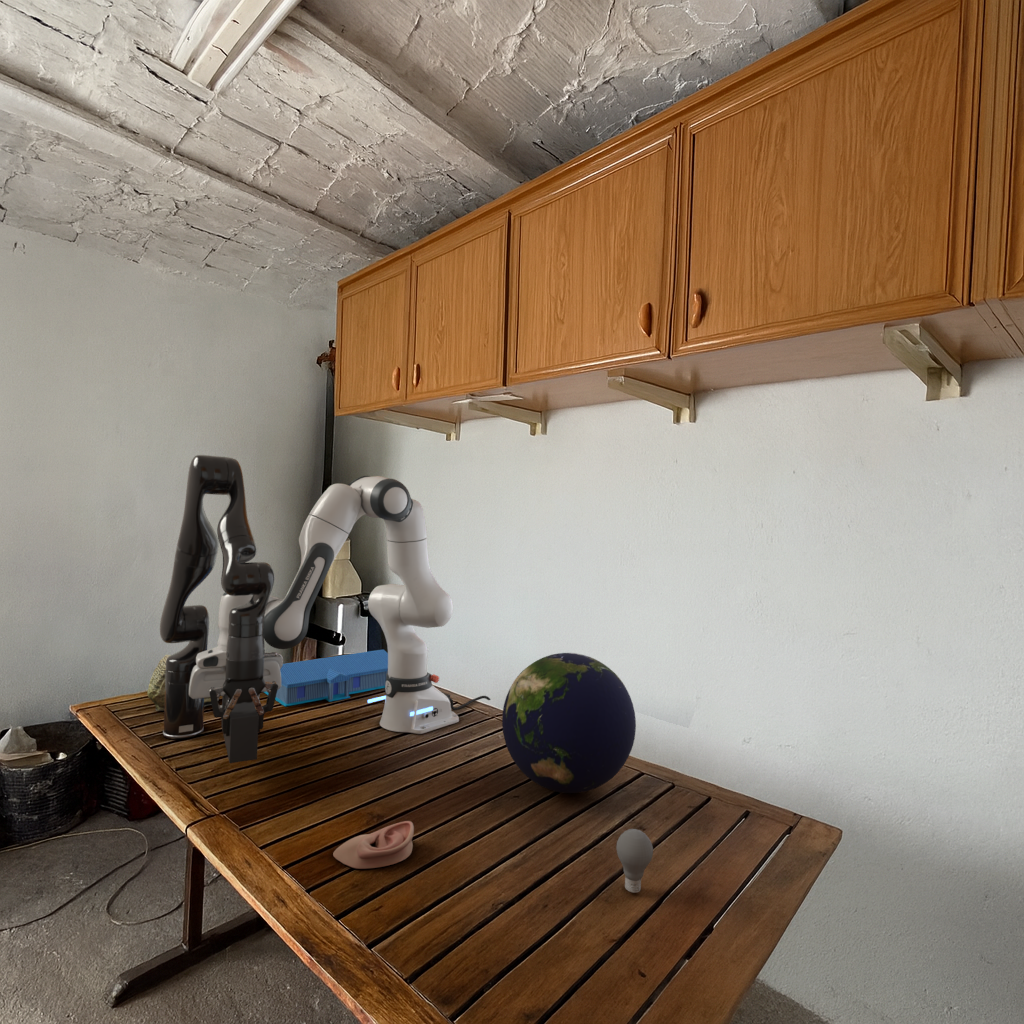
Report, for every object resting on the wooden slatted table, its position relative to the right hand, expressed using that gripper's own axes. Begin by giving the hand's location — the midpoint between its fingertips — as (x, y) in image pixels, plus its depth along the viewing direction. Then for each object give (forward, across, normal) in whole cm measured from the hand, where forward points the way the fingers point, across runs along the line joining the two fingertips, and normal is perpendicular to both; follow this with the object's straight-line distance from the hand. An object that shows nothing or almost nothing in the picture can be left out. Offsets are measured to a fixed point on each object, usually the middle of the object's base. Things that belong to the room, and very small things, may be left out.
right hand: (235, 712), depth 151 cm
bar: (+4, 0, +8) cm, 9 cm away
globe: (+11, -65, +44) cm, 80 cm away
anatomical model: (+11, -19, +53) cm, 57 cm away
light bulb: (+11, -55, +81) cm, 98 cm away
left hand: (-1, 0, +16) cm, 16 cm away
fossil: (+11, +10, -44) cm, 46 cm away
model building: (+11, -34, -46) cm, 58 cm away
